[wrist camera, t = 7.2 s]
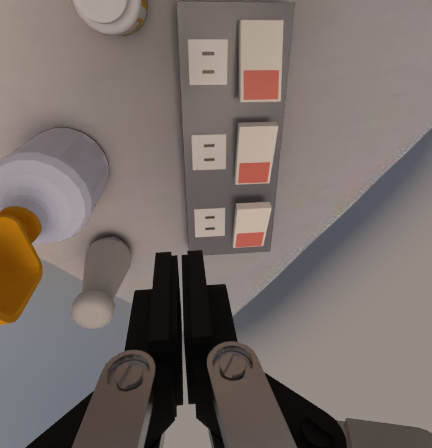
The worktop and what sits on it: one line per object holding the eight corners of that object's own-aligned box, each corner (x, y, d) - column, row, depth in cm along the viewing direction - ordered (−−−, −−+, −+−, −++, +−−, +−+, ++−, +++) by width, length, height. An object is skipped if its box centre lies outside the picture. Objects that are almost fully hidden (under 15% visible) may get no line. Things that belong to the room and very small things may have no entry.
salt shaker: (83, 256, 45) (52, 328, 33) (98, 224, 43) (70, 289, 31) (124, 270, 47) (107, 343, 35) (140, 240, 44) (128, 307, 33)
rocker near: (238, 23, 30) (240, 19, 29) (280, 23, 31) (283, 19, 30) (238, 102, 32) (240, 102, 31) (277, 102, 33) (280, 101, 32)
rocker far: (236, 203, 38) (237, 210, 37) (269, 201, 38) (271, 208, 37) (231, 241, 43) (233, 248, 42) (261, 240, 43) (263, 246, 42)
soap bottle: (94, 119, 36) (-22, 230, 15) (119, 193, 41) (56, 358, 20) (14, 134, 36) (-217, 267, 15) (48, 206, 41) (-92, 387, 19)
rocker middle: (238, 122, 33) (239, 127, 33) (276, 121, 34) (278, 126, 33) (234, 179, 38) (235, 185, 37) (267, 178, 38) (269, 183, 38)
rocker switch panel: (176, 4, 32) (176, 0, 29) (285, 5, 33) (297, 1, 30) (188, 244, 46) (189, 259, 42) (265, 239, 47) (271, 254, 43)
